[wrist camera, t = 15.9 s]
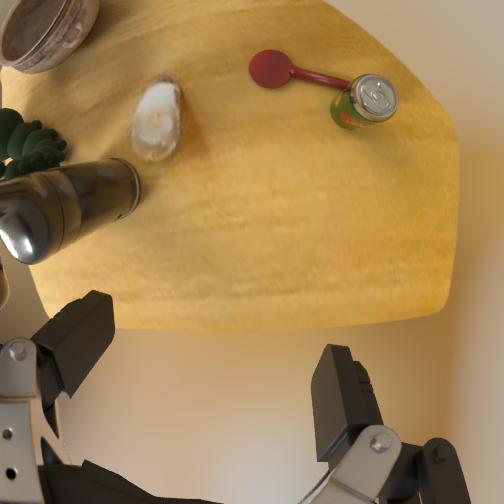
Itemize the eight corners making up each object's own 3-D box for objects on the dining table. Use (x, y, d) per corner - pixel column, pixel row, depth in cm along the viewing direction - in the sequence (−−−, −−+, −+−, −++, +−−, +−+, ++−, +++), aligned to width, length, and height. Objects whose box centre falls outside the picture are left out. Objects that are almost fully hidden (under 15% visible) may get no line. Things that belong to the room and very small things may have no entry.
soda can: (350, 87, 31) (379, 63, 20) (372, 117, 32) (410, 106, 21) (321, 106, 32) (341, 86, 21) (345, 136, 34) (374, 131, 22)
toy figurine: (92, 135, 38) (12, 100, 33) (11, 145, 20) (-57, 104, 16) (75, 186, 41) (-1, 142, 36) (-1, 219, 23) (-67, 159, 19)
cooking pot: (149, 5, 28) (112, -28, 16) (81, 100, 34) (28, 95, 22) (72, -19, 24) (37, -38, 13) (21, 57, 30) (-21, 51, 19)
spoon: (246, 84, 32) (244, 82, 31) (254, 48, 30) (253, 45, 29) (380, 117, 32) (384, 116, 31) (386, 82, 30) (390, 80, 29)
